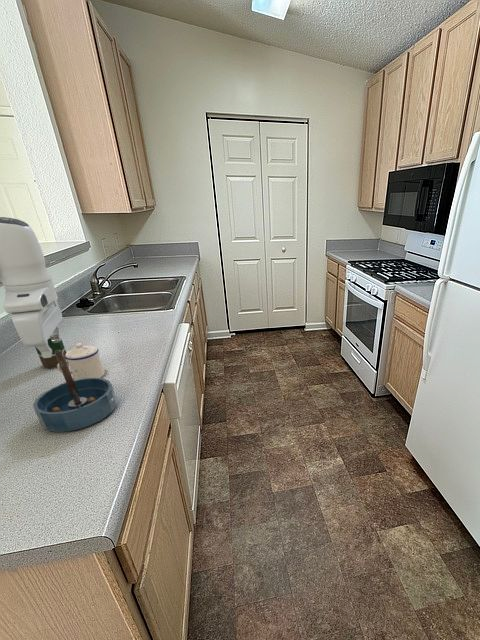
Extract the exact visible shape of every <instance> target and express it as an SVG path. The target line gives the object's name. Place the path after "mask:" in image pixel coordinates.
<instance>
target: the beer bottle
mask: <svg viewBox="0 0 480 640" xmlns="http://www.w3.org/2000/svg"><path fill="white" fill-rule="evenodd" d="M47 341H48V346H49V348H51V349H52V352H53V355H52V357H50V358H43V357H42V354H41V352H40V351H39V350H38V349H37V347H36V346H34V348H35V350H36V354H37V355H38V357H39V360H40V363H41V364H42V366H43V367H44V368H47V369H55V368H57V365H58V360H57V358H56V355H55V351H56V350H62V352H63V354H64V357H65V355H66V353H67V350H66V347H65V345H64V342H63V339H62V338H61V341H60V342H59V343H53V342H52V340H51V336H50V337H49V339H48V340H47ZM65 359H66V358H65Z"/></svg>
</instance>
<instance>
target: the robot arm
mask: <svg viewBox="0 0 480 640" xmlns="http://www.w3.org/2000/svg"><path fill="white" fill-rule="evenodd" d="M0 282H1V283H2V286H3V288H4V290H5V292H4V293H5V297H4V301H3V305H2V306H3V309H4V311H5V312H6V314H11V315H10V317H11V321H12V323H13V326H14V328H15V331H16V332H17V335H18V336H19V338H20V340H21V342H22V344H24V346H25V347H29V348H30V347H35V346H36V347H37V349H38V350H39V351H40V352H41V354H42V357H43V358H50V357H52V355H53V352H52V349H51V348H49V346H48V341H47V340H48V339H49V337H50V336H51V340H52V342H53V343H59V342H60V341H61V339H62V337H61V332H60V325H59V324H60V322H61V321H62V319H63V313H62V310H61V307H60V304H59V302H58V299H59V297H58V294H57V291H56V287H55V284H54V282H53V278H52V275H50V273H49V272H48V270H47V266H46V258H45V254H44V252H43V249H42V247H41V245H40V242H39V240H38V237H37V235H36V233H35V232H34V230H33V228H32V227H31V226H30V225H29V224H28V223H27V222H25V220H24V221H23V220H21V219H18V218H13V217H5V216H0Z"/></svg>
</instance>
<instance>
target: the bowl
mask: <svg viewBox="0 0 480 640" xmlns="http://www.w3.org/2000/svg"><path fill="white" fill-rule="evenodd" d="M73 381H74V383H75V386H76V389H77V391H78V394H79V396H80V397H85V398H87V400H88V399H89V398H90V397H94V398H95V399H96V401H94V402H92V403H90V404H88V405H85V406H82V407H79V408H77V409H73V410H70V408H69V406H68V403H69V402H70V401H71V400H73V398H72V396H71V393H70V391H69V388H68V386H67V383H66V382H63V383H60V384H58V385H56V386H53V387H51V388H50V389H47V390H46V391H44V392H42V393H41V394H40V395H39V396H38V397H36V399H35V401H34V402H33V409H34V412H35V414H36V416H37V419H38V420H39V422H40V425H41V427H42V428H43V429H45V430H46V431H50V432H56V433H62V432H72V431H77V430H80V429H84V428H88V427H90V426H92V425H94V424H96V423H98V422H100V421H101V420H104V419H105V418H107V416H109V415H110V414H111V413H112V412H113V411H114V410H115V409H116V407H117V403H118V400H117V396H116V393H115V390H114V388H113V387H114V385H113V384H112V383H111V381H110V380H109V379H106V378H103V377H101V378H96V377H95V378H83V379H77V380H75V379H73ZM54 407H58V408H60V412H51V410H52V409H53V408H54Z"/></svg>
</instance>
